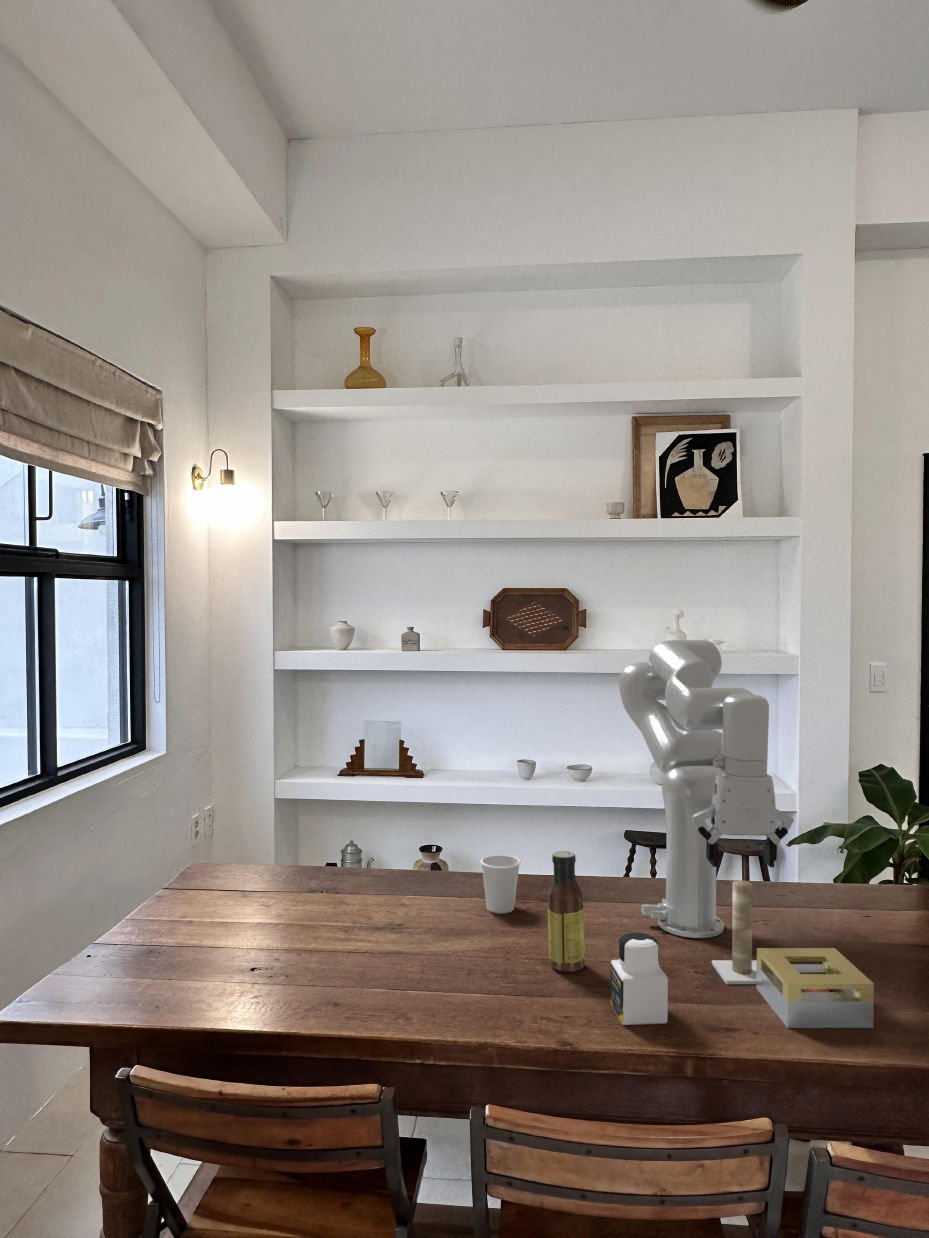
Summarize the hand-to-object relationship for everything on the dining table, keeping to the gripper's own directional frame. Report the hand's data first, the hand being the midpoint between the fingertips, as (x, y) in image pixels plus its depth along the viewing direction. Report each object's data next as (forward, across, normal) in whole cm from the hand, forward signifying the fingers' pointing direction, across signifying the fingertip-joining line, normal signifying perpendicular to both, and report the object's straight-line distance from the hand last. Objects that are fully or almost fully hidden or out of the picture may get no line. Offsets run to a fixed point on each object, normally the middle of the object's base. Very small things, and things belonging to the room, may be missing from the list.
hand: (740, 864), depth 146 cm
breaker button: (+18, +7, -14) cm, 23 cm away
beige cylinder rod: (+18, 0, -2) cm, 18 cm away
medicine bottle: (+18, -21, -16) cm, 32 cm away
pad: (+19, 0, -2) cm, 19 cm away
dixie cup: (+20, -40, +29) cm, 53 cm away
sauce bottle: (+19, -30, +1) cm, 35 cm away
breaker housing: (+18, +7, -14) cm, 24 cm away
